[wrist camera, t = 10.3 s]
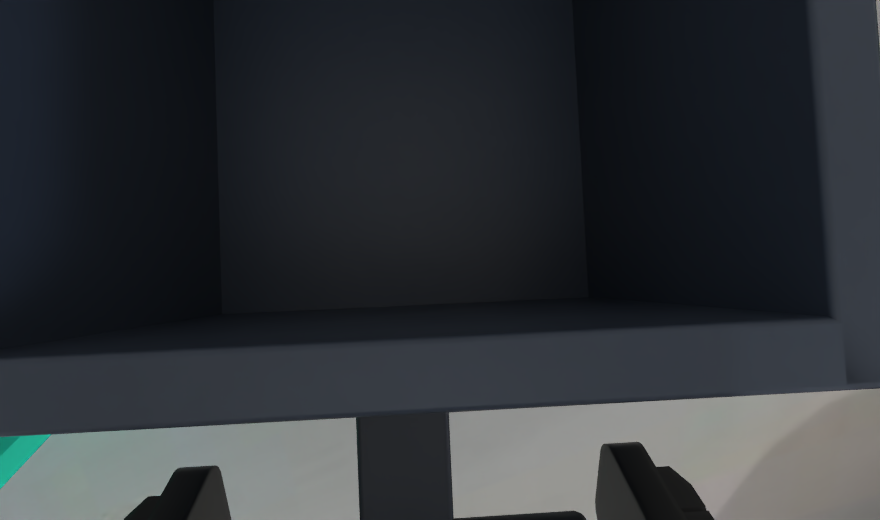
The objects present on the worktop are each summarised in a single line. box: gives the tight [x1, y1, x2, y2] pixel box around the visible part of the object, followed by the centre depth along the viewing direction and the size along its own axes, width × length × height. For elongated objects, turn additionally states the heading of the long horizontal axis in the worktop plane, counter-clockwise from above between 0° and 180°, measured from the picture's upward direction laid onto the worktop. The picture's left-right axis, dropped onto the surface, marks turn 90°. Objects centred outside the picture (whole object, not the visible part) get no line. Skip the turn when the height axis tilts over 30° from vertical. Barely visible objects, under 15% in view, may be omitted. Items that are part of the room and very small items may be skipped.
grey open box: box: [0, 0, 880, 520], centre depth 10 cm, size 15×11×9 cm
